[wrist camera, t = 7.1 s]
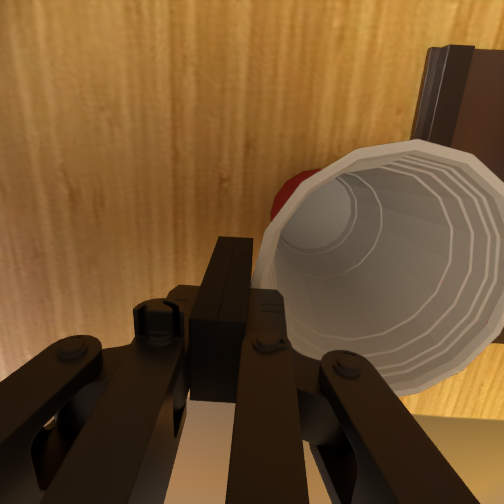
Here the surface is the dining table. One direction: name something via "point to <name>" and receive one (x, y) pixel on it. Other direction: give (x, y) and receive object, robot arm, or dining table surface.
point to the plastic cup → (391, 260)
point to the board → (464, 105)
